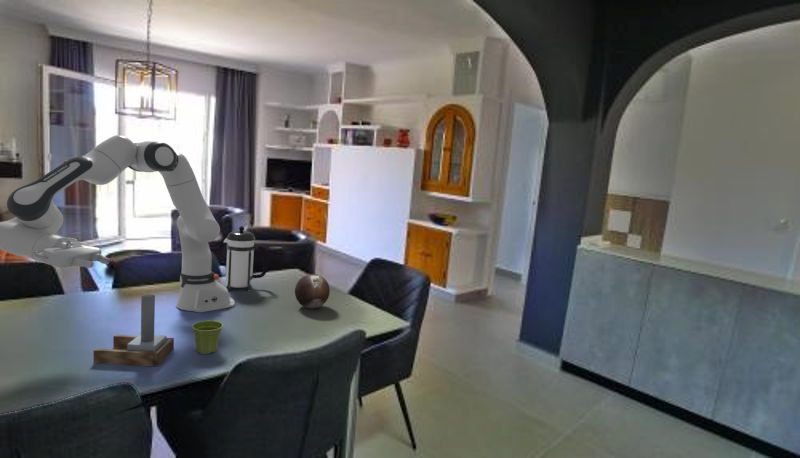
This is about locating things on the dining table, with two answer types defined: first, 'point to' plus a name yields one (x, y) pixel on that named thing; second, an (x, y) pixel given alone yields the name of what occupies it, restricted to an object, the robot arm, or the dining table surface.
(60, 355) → the dining table surface
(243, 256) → the coffee press
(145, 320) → the gray post
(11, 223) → the robot arm
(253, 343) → the dining table surface
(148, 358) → the bay
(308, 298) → the brown ball
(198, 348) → the plant pot
